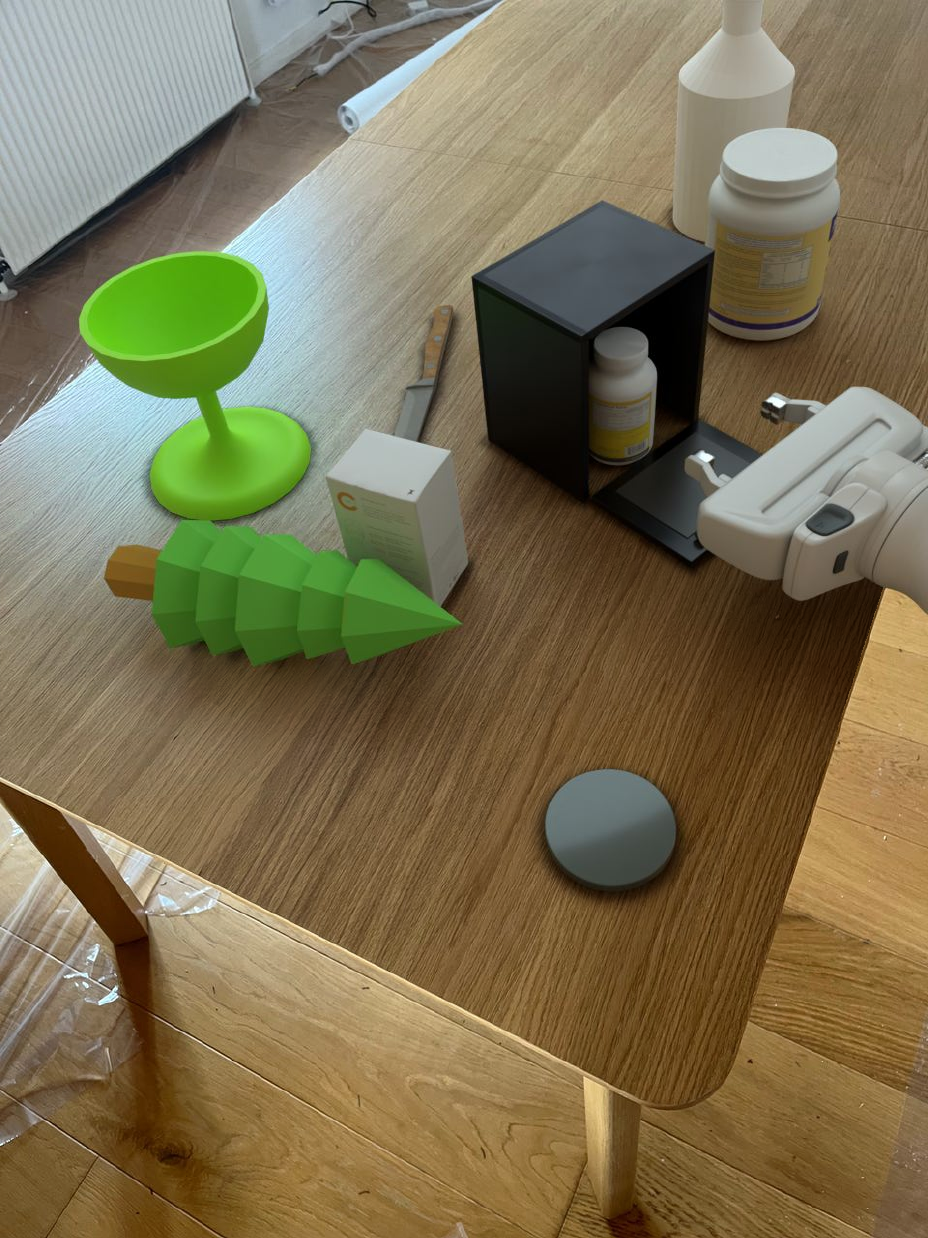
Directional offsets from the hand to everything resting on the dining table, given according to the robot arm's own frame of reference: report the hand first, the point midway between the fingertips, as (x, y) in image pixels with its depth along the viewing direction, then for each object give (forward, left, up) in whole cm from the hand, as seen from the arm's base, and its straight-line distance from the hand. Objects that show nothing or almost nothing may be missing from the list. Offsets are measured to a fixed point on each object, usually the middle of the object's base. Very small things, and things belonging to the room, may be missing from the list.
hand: (729, 430), depth 84 cm
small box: (+28, +2, -9) cm, 29 cm away
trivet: (+17, +29, -8) cm, 35 cm away
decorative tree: (+38, +8, -9) cm, 40 cm away
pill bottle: (+7, -10, -9) cm, 15 cm away
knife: (+25, -21, -9) cm, 33 cm away
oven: (+5, -8, -8) cm, 13 cm away
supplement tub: (-12, -27, -9) cm, 31 cm away
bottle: (-14, -46, -9) cm, 49 cm away
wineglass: (+44, -17, -9) cm, 48 cm away
